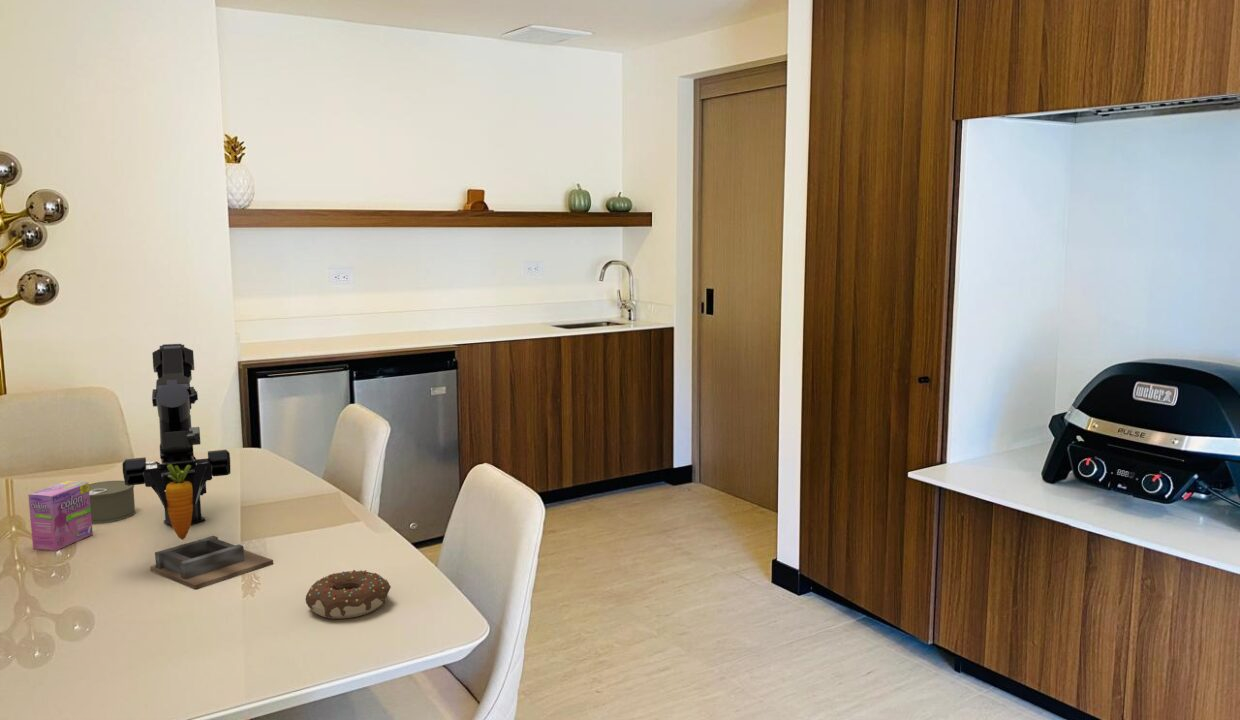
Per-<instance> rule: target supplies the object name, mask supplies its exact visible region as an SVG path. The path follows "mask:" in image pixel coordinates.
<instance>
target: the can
mask: <svg viewBox="0 0 1240 720" xmlns="http://www.w3.org/2000/svg"><path fill="white" fill-rule="evenodd" d="M134 488H135V485H130V486H128V485H125V481H124V480H106V481H98V482H92V483H89V496H90V509H91V520H92V525H103V524H110V523H116V522H121V521H122V520H123V521H124V520H126V519H129V518H131V517H132V516H134V515H136V509H135V508H136V507H135V506H136V505H135V492H134Z"/></svg>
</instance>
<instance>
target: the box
mask: <svg viewBox="0 0 1240 720" xmlns="http://www.w3.org/2000/svg"><path fill="white" fill-rule="evenodd" d="M89 484H90V483H89V482H87V481H86V482H85V481H76V480H75V481H74V480H66V481H62V482H60V483H57V484H55V485H52V486H49V487H46V488H44V489H40V490H37V491H35V492H32V493H29V494H28V495H27V496H28V507H29V517H30V528H31V530H30V531H31V541H32V549H33V550H37V551H38V550H39V551H51V552H57V551H59V550H60V549H63V548H65V547H68V546H70V545H71V544H75V543H76V542H78V541H82V540H83V539H85V538H87V537H90V536H92V535H93V534H94V533H93V524H92V520H91V509H90V496H89Z"/></svg>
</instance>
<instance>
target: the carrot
mask: <svg viewBox="0 0 1240 720" xmlns="http://www.w3.org/2000/svg"><path fill="white" fill-rule="evenodd" d="M167 468H168V470H169V471H170V473H171V474H172V475H169V476H168V477H169V478H170V479H172V480H173V481H174V482H171V483H169V484H168V485H167V486H166V490H165V492H166V501H167V508H168V514H169V518H170V521H171V524H172V525H171V527H172V528H173V530H174V533H175V534H176V535H177V537H178V538H179V539H180V540H182V541H183V540H184V539H186V537H187V535H188V533H189V531H190V528H191V525H192V524H191V520H192V512H193V487H192V483H191V482H189V481H184V479H185V477H186V475H187V473H188V471H189V469H190V468H191V466H190V465H187V466H186V467H185V469H184V471H180V469H179V467H178V465H176V466H174V467H173V466H172V464H169V465H168V466H167ZM174 468H175V469H176V471H177V473H176V471H175V469H174Z"/></svg>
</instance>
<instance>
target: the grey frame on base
mask: <svg viewBox="0 0 1240 720" xmlns="http://www.w3.org/2000/svg"><path fill="white" fill-rule="evenodd" d="M154 558H155V565H151V566H150V567H149V569H150V572H153V573H155V574H157V575H160V576H162V577H165V578H167V579H169V580H172V581H174V582H177V583H178V584H182V585H183V586H186V587H188V588H191V589H194V590H199V589H201V588H204V587H207V586H210V585H214V584H216V583H219V582H223V581H225V580H228V579H232V578H235V577H239V576H240V575H244V574H246V573H250V572H252V571H253V572H254V571H256V570H258V569H263V568H265V567H268V566H270V565H273V564H274V559H271V558H268V557H266V556H263V555H261V554H257V553H254V552H251V551H248V550H246V549H244V545H242V544H236V545H235V544H233V543H230V542H226V541H223V540H221V539H219V537H218V536H216V535H212V536H208V537H204V538H201V539H197V540H194V541H190V542H188V543H187V542H186V543H182V544H180V545H176V546H173V547H169V548H165V549H162V550H159V551H155V552H154Z"/></svg>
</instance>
